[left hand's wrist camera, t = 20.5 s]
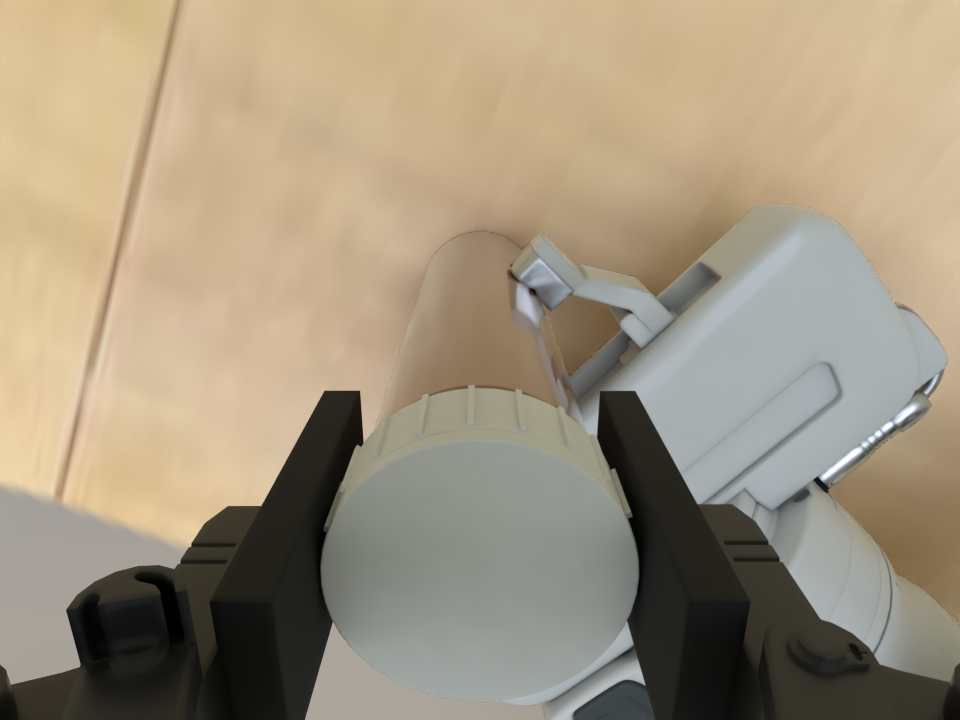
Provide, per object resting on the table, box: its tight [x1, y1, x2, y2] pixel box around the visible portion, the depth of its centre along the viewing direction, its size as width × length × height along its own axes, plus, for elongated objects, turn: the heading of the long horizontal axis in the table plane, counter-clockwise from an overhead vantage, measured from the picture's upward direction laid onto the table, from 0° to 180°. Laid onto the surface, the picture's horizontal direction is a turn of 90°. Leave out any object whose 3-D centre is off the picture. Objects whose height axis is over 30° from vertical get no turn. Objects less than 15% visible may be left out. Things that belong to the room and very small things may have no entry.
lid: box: [320, 385, 639, 702], centre depth 11 cm, size 5×5×2 cm
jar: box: [373, 232, 587, 432], centre depth 20 cm, size 5×5×18 cm
